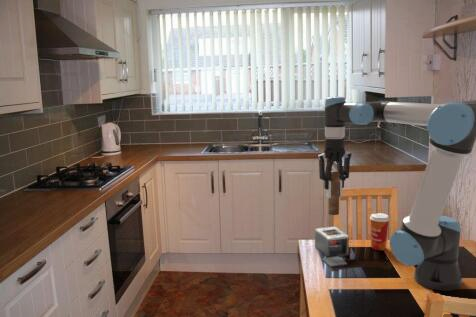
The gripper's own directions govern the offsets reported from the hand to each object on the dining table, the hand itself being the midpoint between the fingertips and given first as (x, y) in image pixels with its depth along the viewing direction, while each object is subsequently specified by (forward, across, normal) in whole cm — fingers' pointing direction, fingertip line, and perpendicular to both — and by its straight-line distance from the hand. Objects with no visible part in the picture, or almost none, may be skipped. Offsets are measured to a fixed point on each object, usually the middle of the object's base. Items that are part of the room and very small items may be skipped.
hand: (334, 196), depth 172 cm
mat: (+24, +3, +7) cm, 25 cm away
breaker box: (+24, -1, -4) cm, 24 cm away
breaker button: (+23, -1, -4) cm, 23 cm away
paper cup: (+25, -21, -2) cm, 32 cm away
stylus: (+7, 0, 0) cm, 7 cm away
